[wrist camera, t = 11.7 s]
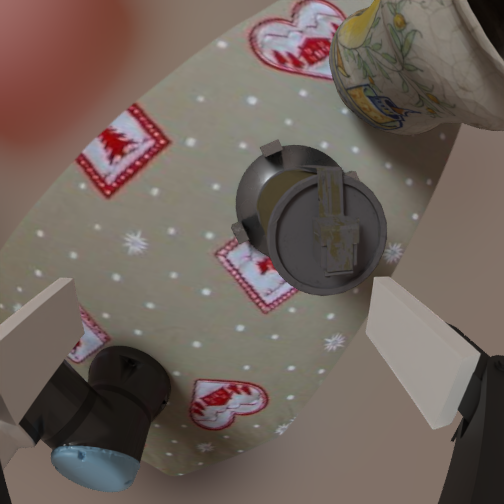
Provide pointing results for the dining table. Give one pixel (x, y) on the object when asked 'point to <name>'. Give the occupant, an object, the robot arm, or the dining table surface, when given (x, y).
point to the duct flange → (259, 173)
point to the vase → (422, 64)
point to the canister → (321, 228)
